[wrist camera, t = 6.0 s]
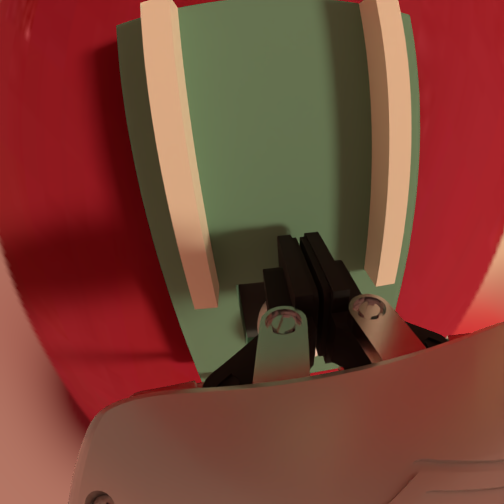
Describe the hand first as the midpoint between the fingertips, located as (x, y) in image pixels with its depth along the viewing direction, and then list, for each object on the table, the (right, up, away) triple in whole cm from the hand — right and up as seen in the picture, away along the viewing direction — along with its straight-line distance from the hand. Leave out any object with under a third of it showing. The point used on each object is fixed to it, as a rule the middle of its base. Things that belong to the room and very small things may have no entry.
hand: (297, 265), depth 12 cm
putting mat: (0, +2, +2) cm, 3 cm away
